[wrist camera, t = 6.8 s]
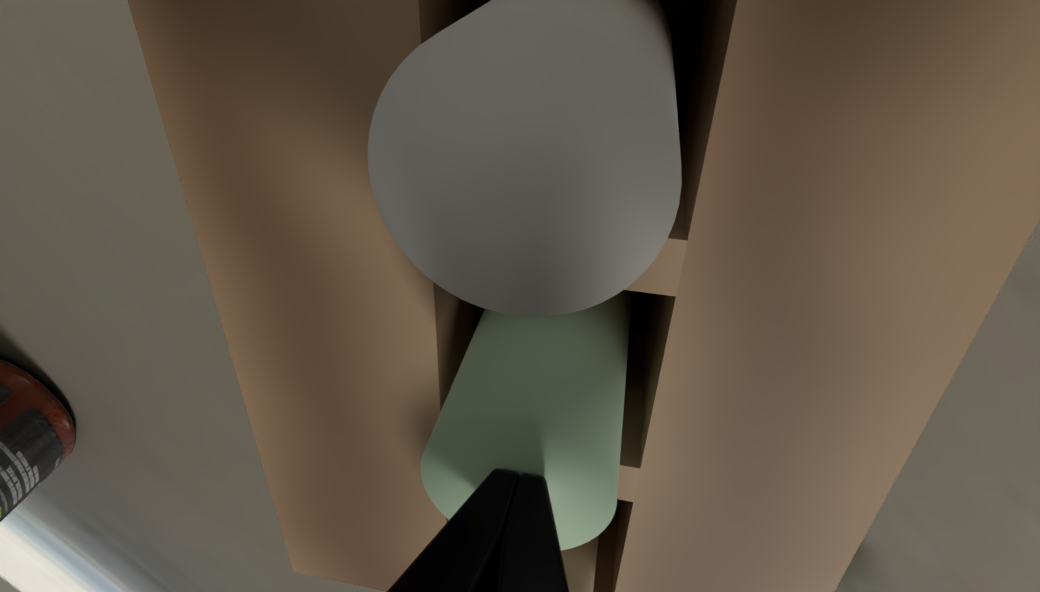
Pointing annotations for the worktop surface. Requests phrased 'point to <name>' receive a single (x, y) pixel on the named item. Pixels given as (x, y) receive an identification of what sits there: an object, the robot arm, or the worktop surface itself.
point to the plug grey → (532, 152)
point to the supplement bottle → (29, 435)
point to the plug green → (538, 413)
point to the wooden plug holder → (670, 278)
